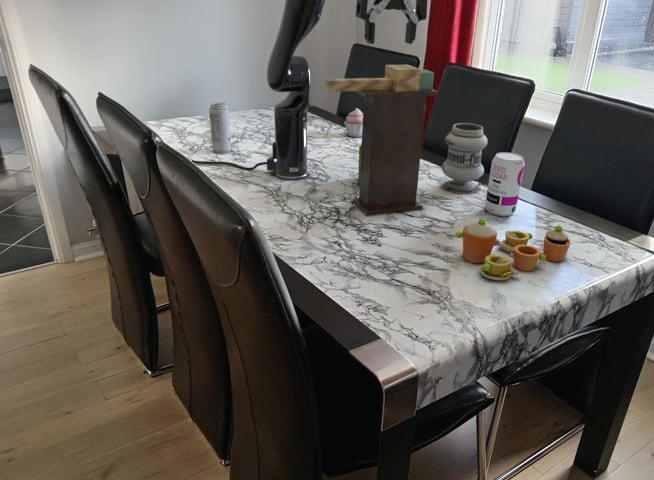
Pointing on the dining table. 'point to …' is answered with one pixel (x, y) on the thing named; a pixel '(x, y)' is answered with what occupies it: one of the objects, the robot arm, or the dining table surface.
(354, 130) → the cupcake
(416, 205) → the stand
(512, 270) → the toy tea set
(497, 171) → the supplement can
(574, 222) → the dining table surface
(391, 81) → the mallet
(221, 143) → the energy drink can
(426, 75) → the block
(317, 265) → the dining table surface
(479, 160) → the apothecary jar
